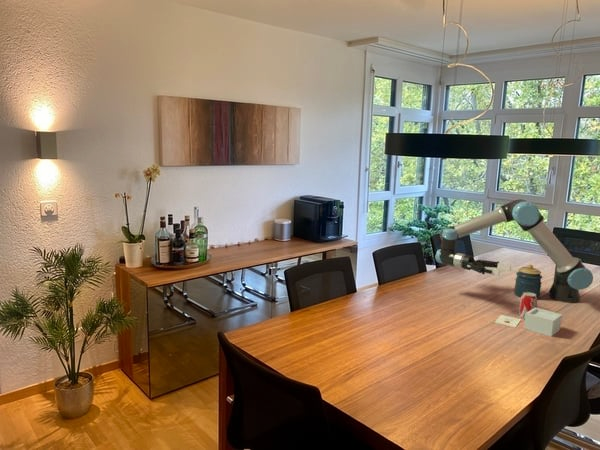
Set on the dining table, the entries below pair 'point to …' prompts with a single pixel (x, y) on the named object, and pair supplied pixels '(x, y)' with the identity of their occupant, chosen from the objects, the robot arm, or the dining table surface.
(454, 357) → the dining table surface
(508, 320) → the cream flat plate
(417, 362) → the dining table surface
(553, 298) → the robot arm
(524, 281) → the canister
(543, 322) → the base block
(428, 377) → the dining table surface
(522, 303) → the soda can
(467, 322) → the dining table surface
